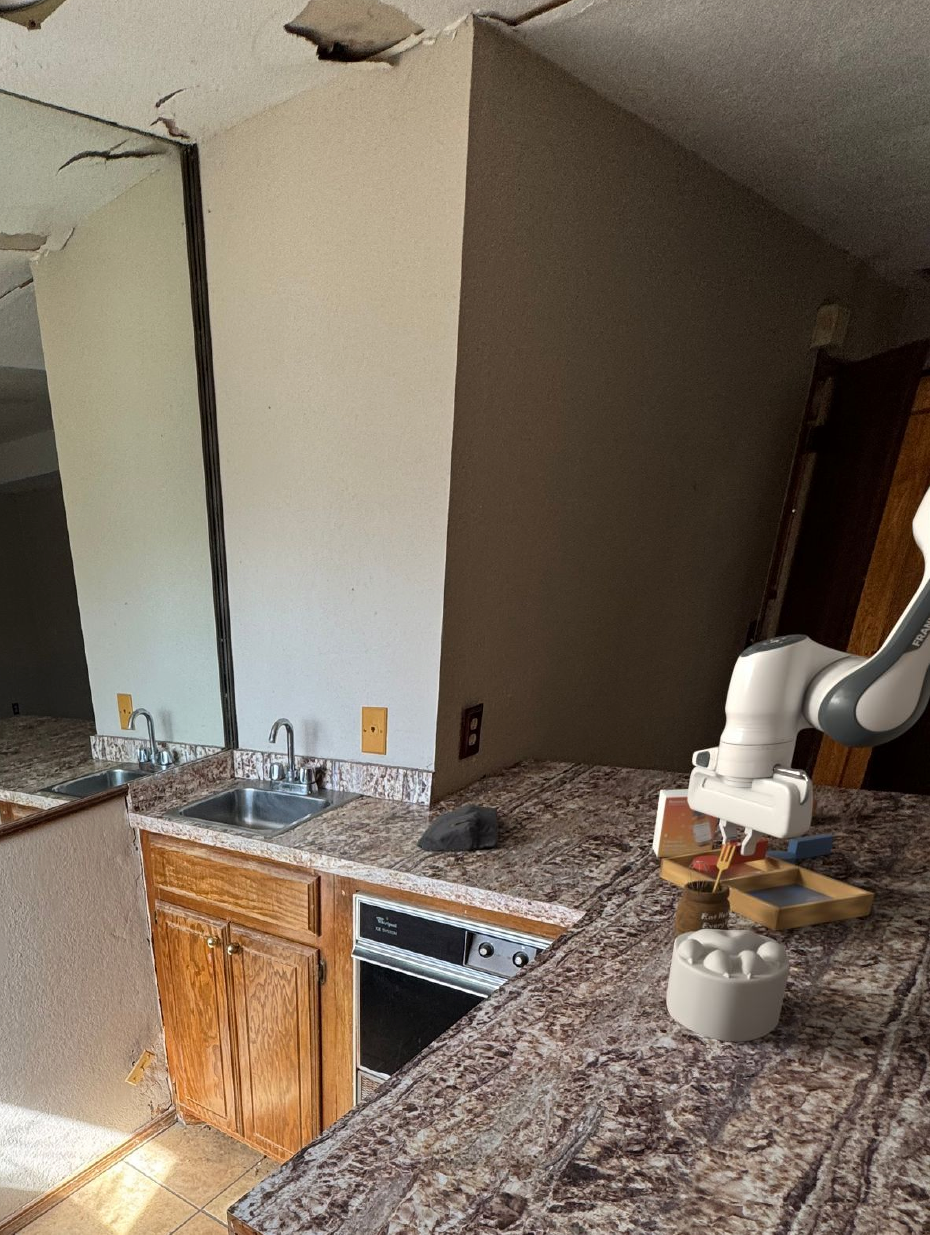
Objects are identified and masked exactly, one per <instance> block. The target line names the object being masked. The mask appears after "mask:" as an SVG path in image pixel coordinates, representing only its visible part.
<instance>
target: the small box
mask: <svg viewBox="0 0 930 1235" xmlns="http://www.w3.org/2000/svg"><path fill="white" fill-rule="evenodd" d="M688 789H689V788H681V789H680V788H679V789H660V791H659V797H658V804H657V812H656V821H655V826H654V834H653V841H652V849H653V851H654V853H655V856H656V858H669V857H675V856H680V855H686V854H692V853H698V852H704V851H710V850H713V847H714V842H715V835H716V829H717V824H718V818H717V817H713V816H710V815H707V814H704V813H701V812H698V811H695V810H692V809H691V808H690V806H689V804H688Z"/></svg>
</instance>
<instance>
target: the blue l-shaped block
mask: <svg viewBox="0 0 930 1235" xmlns="http://www.w3.org/2000/svg"><path fill="white" fill-rule="evenodd" d="M834 840H835V835H833V834H830V833H826V832H825V833H820V834H813V835H809V836H801V837H795V838H789V842H788V847H787V851H786V850H768V851H767V850H766V855H769V856H771V857H774V858H777V859H780V860H782V861H785V862H788V863H791V864H794V863H795V862H796V861H797V860H803V859H808V858H814V857H820V855H821V856H827V855H831V852H832V849H833V845H834Z"/></svg>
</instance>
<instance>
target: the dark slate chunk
mask: <svg viewBox="0 0 930 1235" xmlns="http://www.w3.org/2000/svg"><path fill="white" fill-rule="evenodd" d="M498 815H499V812H498V810H497V808H495V807H486V806H480V805H476V804H469V805H466V806H462V807H459V808H457V809H454V810H451V811H448V812H444V813H441V814H439V815H438V816H436V818H435V819H434V820H433V821H432V823H431V824H430V826H429V827H427V828H426V829H425V830H424V832H423V834H422V835H421V837H420V838H419V839H418V841H417V843H416V845H415V846H416V847H418V848H420V849H422V851H424V852H426V851H430V852H437V851H444V852H468V851H473V850H482V849H486V848H489V849H490V848H493V847H495V846H497V844H498V840H499V827H500V826H499V824H500V823H499V820H498Z"/></svg>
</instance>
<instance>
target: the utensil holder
mask: <svg viewBox="0 0 930 1235" xmlns="http://www.w3.org/2000/svg"><path fill="white" fill-rule="evenodd" d="M726 846H727V844H724V846H723V849H722V848H721V849H722V852H721V855H720V857H719V860H718V863H717V867H718V868H719V869H720V871H719V874H718V877H717V880H716V881H707V870H706V880H702V881H700V867H699V881H693V882H689V881H688V883H687V884H685V886H684V888H682V891H681V894H682V896H681V897H680V898H679V900H678V903H677V907H676V913H675V919H674V934H675V935H676V936H677V937H678V936H680V935H682V934H684V933H688V932H697V931H699V930H702V929H718V930H728V923H729V918H730V911H731V910H730V902H729V900H728V899H727V898H728V897H729V895H730V889H729V886H727V885H726V884H724V883H721V882H720V879H721V876H722V873H723V871H724V870H726V869H728V868H729V867H730V864H731V861H732V858H733V854H734V851H735V848H736V846H733V849H732V851H731V854H730V857H729V860H728V862H727V858H728V855H729V852H730V849H731V845H729V846H728V849H727V851H726V854H725V857H724V860H723V861H722V858H723V855H724V852H725V849H726ZM695 862H698V863H699V862H700V863H701V862H702V861H694V863H695ZM692 864H693V862H692V863H691V865H692ZM702 864H703V863H702ZM706 864H707V863H706ZM691 865H690V866H689V867H691ZM703 865H704V866H705V862H704V864H703ZM694 866H695V865H694ZM693 868H694V867H693ZM705 868H706V867H705ZM688 869H689V868H688ZM708 869H709V866H708ZM692 870H693V869H692ZM704 878H705V874H704ZM708 879H709V877H708ZM690 880H691V877H690Z"/></svg>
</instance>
